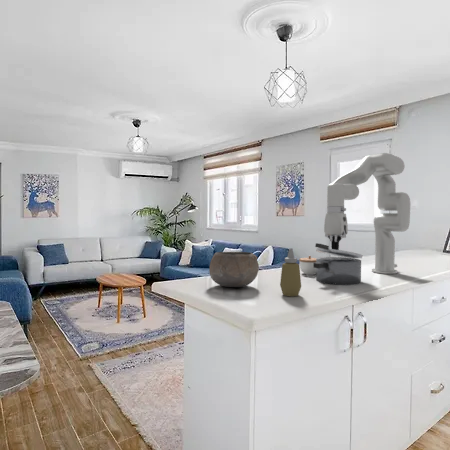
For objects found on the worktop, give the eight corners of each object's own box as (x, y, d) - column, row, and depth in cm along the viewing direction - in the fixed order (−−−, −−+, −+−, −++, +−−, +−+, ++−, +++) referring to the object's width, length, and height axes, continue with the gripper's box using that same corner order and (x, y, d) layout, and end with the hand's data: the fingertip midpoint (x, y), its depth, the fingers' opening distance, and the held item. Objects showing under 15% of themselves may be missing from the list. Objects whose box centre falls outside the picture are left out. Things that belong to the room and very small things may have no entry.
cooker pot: (333, 275, 182) (333, 256, 181) (369, 281, 166) (370, 260, 165) (298, 281, 166) (298, 259, 166) (335, 288, 150) (335, 264, 150)
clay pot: (202, 284, 159) (202, 250, 158) (244, 281, 167) (244, 248, 167) (220, 294, 139) (220, 255, 139) (267, 289, 148) (267, 253, 147)
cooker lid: (334, 256, 182) (335, 249, 183) (372, 260, 166) (372, 253, 166) (299, 247, 166) (300, 240, 167) (337, 250, 150) (338, 243, 150)
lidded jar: (320, 275, 181) (321, 257, 181) (299, 275, 183) (299, 256, 183) (319, 272, 192) (319, 255, 191) (299, 271, 194) (299, 254, 194)
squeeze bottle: (277, 293, 142) (278, 247, 141) (297, 292, 142) (298, 247, 142) (282, 297, 134) (283, 249, 133) (303, 297, 134) (304, 249, 134)
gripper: (354, 210, 161) (354, 251, 162) (327, 210, 173) (326, 248, 174) (344, 210, 157) (344, 252, 158) (317, 210, 169) (316, 249, 169)
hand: (335, 250), depth 166 cm, fingers closed
